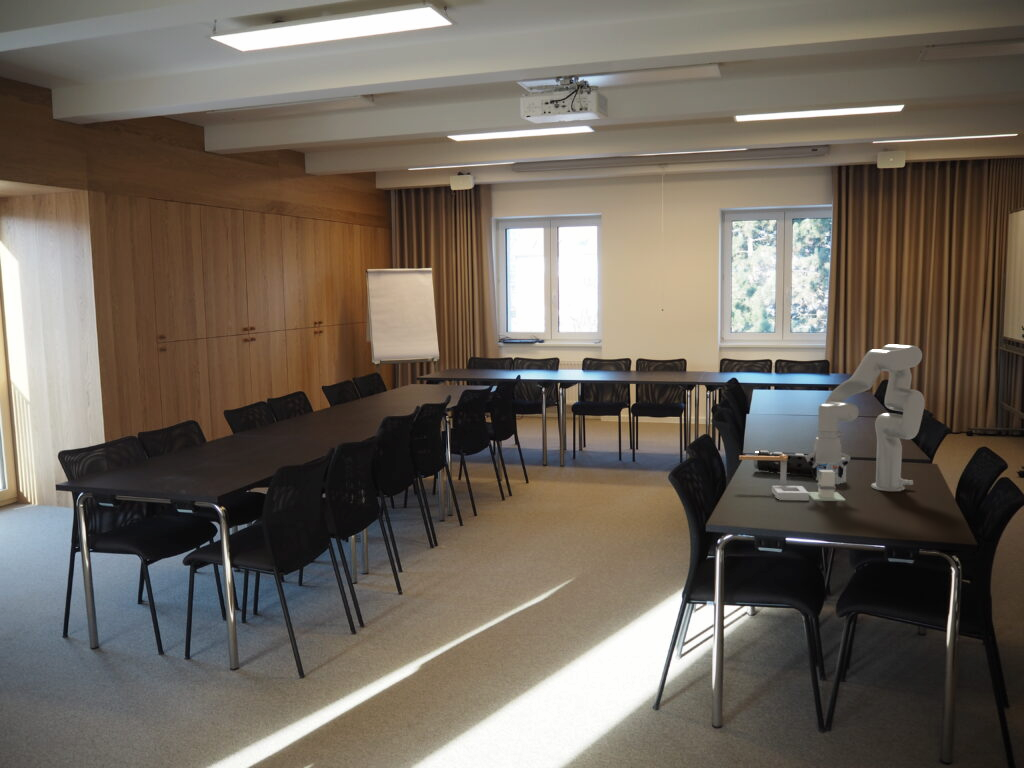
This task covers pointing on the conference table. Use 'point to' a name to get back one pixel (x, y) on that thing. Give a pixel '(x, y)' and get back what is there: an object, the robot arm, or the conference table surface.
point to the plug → (826, 483)
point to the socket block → (788, 488)
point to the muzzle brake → (794, 464)
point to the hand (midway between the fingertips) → (827, 477)
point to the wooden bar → (765, 458)
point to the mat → (817, 497)
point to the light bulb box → (834, 468)
